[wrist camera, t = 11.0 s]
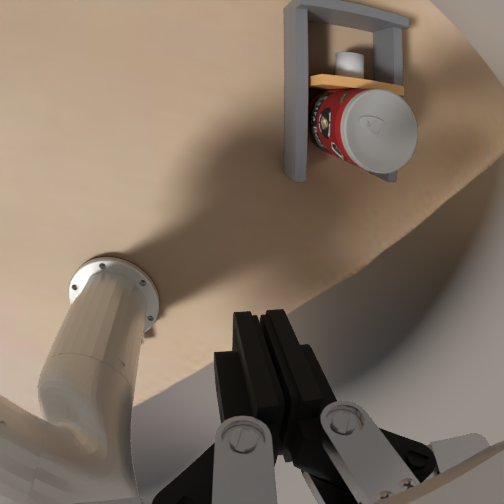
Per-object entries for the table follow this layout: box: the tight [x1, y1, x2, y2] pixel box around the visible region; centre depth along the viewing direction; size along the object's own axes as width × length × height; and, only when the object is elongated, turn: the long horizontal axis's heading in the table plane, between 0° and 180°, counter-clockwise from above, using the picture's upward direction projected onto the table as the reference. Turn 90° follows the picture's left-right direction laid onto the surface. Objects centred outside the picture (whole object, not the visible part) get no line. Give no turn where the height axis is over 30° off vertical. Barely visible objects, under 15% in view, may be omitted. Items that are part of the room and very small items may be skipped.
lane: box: [284, 0, 409, 182], centre depth 30 cm, size 20×12×6 cm, turn 0°
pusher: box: [308, 52, 404, 96], centre depth 28 cm, size 4×9×7 cm, turn 90°
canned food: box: [308, 88, 418, 174], centre depth 29 cm, size 8×8×11 cm
